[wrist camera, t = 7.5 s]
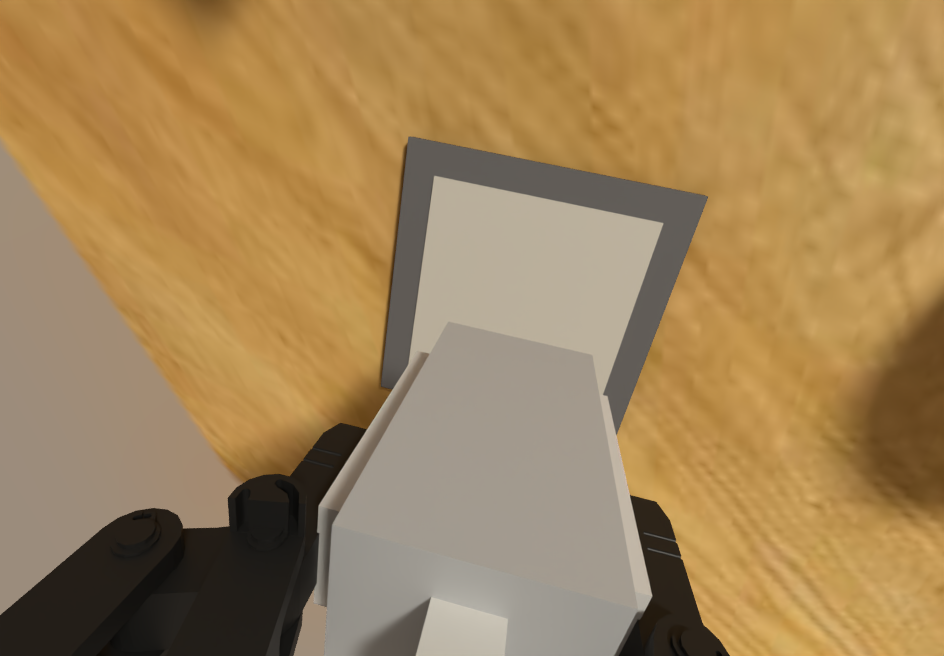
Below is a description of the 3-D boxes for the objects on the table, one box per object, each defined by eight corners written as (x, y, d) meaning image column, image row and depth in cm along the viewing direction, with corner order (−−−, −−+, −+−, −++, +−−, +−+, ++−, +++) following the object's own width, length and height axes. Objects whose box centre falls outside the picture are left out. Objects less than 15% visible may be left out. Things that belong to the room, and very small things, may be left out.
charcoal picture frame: (412, 136, 22) (407, 136, 21) (704, 195, 20) (708, 197, 20) (384, 381, 27) (380, 387, 27) (611, 437, 26) (613, 444, 26)
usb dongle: (448, 321, 14) (258, 653, 5) (592, 354, 13) (668, 778, 5) (428, 436, 16) (266, 828, 7) (554, 468, 15) (557, 927, 6)
